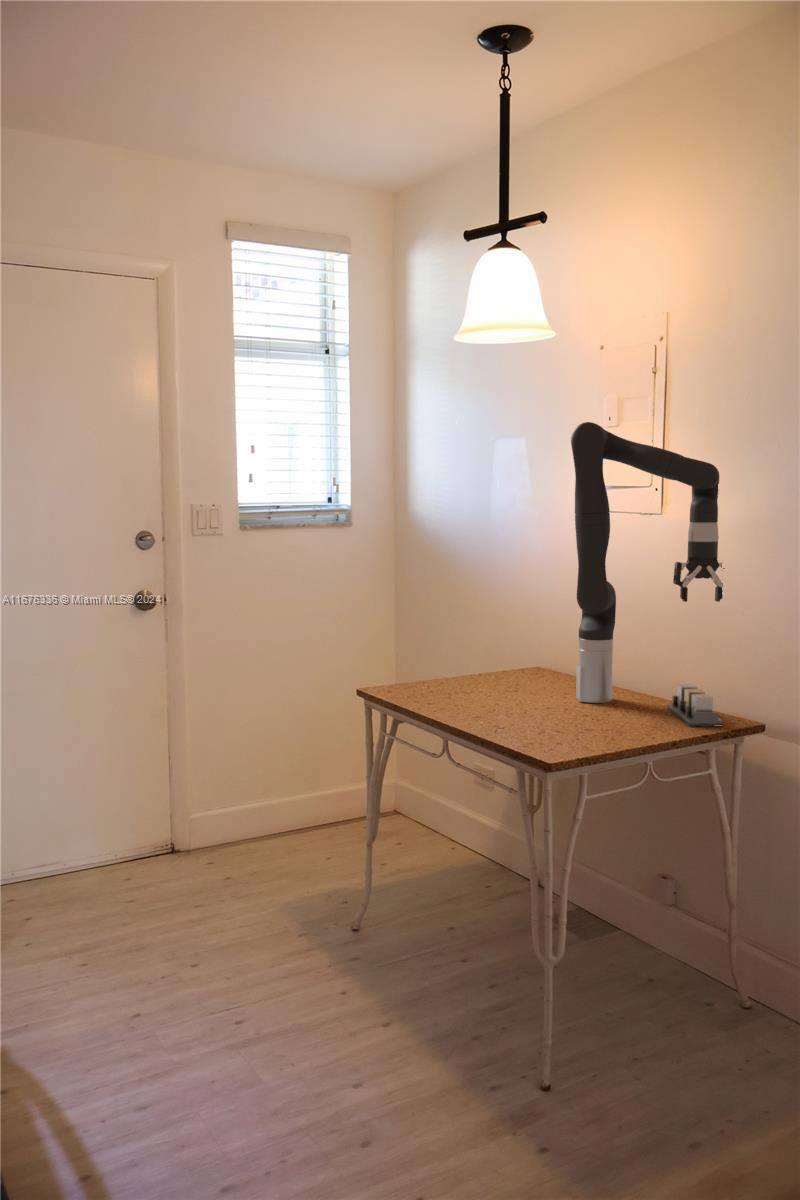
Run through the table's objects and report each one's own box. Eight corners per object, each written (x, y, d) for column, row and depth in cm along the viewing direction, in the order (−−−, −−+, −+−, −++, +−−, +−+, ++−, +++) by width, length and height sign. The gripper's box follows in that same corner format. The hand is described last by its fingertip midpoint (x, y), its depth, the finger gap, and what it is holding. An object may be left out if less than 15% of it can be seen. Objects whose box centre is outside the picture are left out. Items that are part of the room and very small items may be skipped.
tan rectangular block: (683, 712, 251) (684, 689, 251) (699, 712, 251) (700, 689, 251) (688, 715, 247) (688, 692, 247) (704, 715, 247) (705, 692, 247)
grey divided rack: (689, 726, 239) (690, 699, 238) (667, 708, 260) (668, 683, 259) (722, 726, 239) (723, 699, 238) (697, 708, 260) (698, 683, 259)
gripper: (726, 539, 262) (724, 600, 264) (672, 539, 262) (670, 599, 264) (734, 540, 255) (732, 603, 256) (679, 540, 255) (677, 602, 257)
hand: (701, 601), depth 260 cm, fingers open, 8 cm apart
